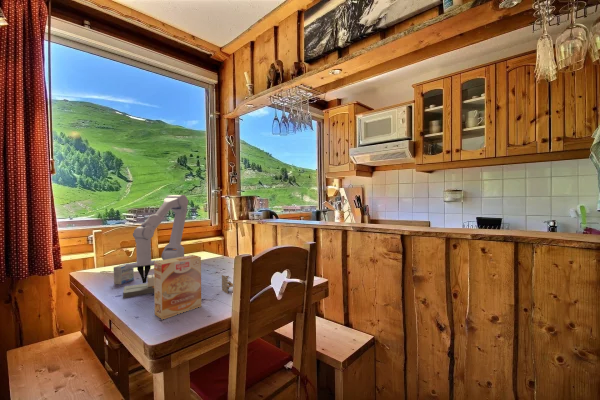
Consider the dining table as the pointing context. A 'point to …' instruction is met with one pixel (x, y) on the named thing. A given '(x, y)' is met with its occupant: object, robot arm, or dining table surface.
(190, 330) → the dining table surface
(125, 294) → the fader panel
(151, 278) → the fader knob
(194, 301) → the coffeecake box
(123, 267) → the medicine box
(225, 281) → the architectural model
